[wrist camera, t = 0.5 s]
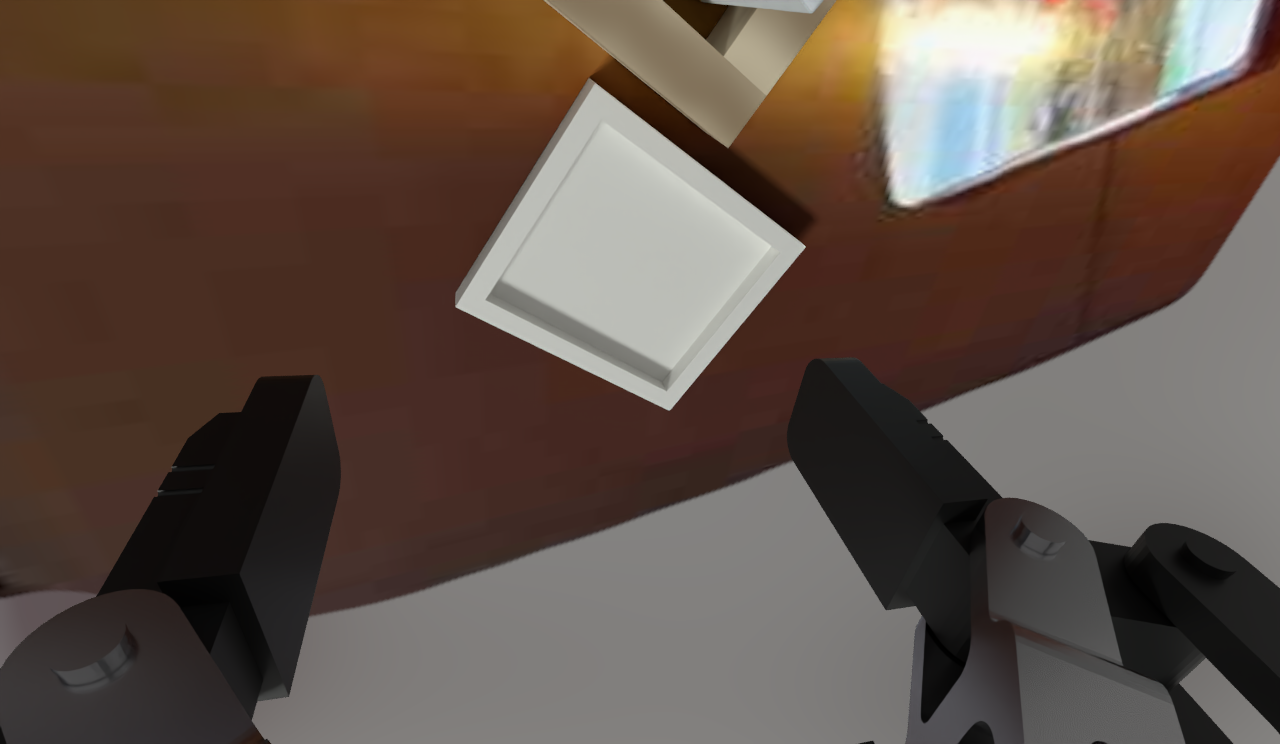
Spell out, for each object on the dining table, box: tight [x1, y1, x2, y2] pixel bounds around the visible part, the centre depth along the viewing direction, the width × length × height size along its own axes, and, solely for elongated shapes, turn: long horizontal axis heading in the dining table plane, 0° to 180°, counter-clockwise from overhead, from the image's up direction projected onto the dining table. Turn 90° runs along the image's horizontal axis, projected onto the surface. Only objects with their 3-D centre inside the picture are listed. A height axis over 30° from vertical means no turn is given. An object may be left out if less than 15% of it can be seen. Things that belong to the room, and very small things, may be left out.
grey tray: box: [455, 78, 806, 411], centre depth 37 cm, size 14×16×2 cm
